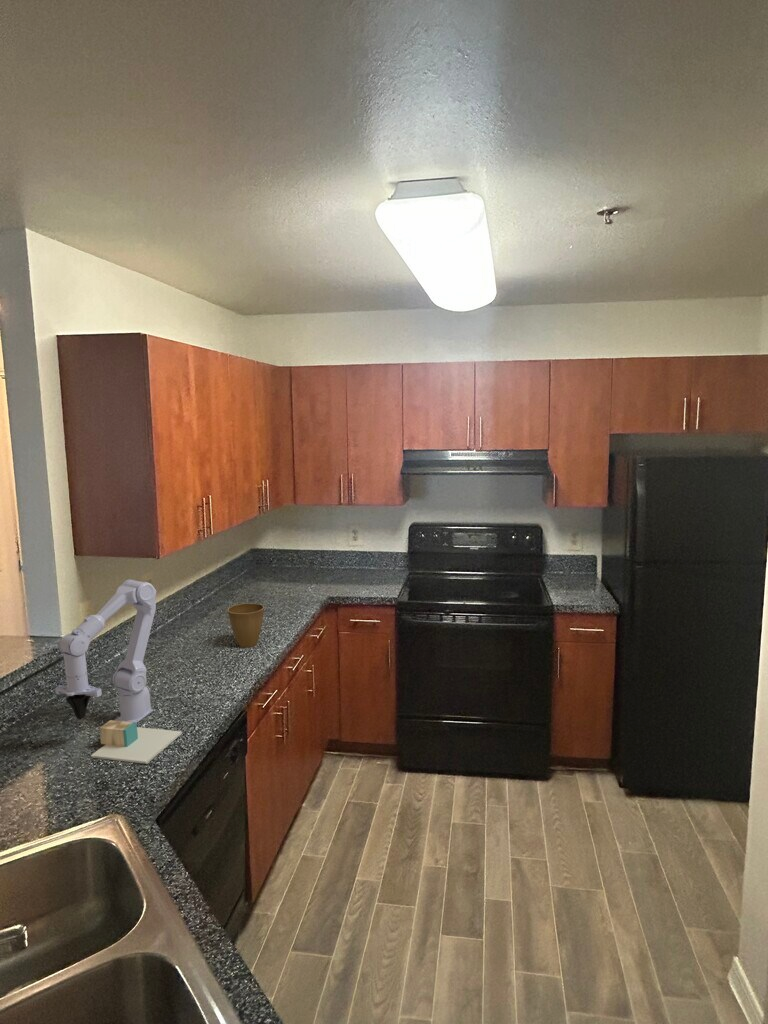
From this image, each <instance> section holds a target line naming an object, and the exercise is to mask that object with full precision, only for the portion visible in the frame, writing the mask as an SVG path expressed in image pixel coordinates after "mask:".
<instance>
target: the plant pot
mask: <svg viewBox="0 0 768 1024" xmlns="http://www.w3.org/2000/svg"><path fill="white" fill-rule="evenodd" d="M264 611H265V606H264V605H263V604H260V603H253V602H252V603H250V602H248V603H237V604H234V605H231V606H230V607H228V608H227V614H228V619H229V623H230V626H231V629H232V631H233V635H234V637H235V640H236V642H237V644H238V646H239V647H240V648H252V647H255V646H256V645H258V641H259V639H260V635H261V631H262V625H263V620H264V613H265V612H264Z"/></svg>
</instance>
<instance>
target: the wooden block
mask: <svg viewBox="0 0 768 1024" xmlns="http://www.w3.org/2000/svg"><path fill="white" fill-rule="evenodd" d="M137 724H138V722H137V723H135V722H124V721H115V720H114V719H113V720H112V719H110V720H109V721H107V722H106V723H104V724H102V725H101V726H100V727H98V728H99V730H98V731H99V737H100V739H99V740H100V744H101V745H116V746H125V747H128V746H129V745H130V744H132V743H133V742H134V741H136V740H137V739H138V733H137V727H138V725H137Z"/></svg>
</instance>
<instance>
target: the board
mask: <svg viewBox="0 0 768 1024" xmlns="http://www.w3.org/2000/svg"><path fill="white" fill-rule="evenodd" d="M137 733H138V739H137V740H136V741H134V742H133V743H132V744H130V745H129V746H128V747H125V746H116V745H106V744H103V746H101V747H100V748H99V749H97V750H96V751H95V752H94V753H92V754H90V758H93V759H101V760H108V761H109V760H110V761H111V760H112V761H117V762H119V761H120V762H127V763H135V764H136V763H138V764H145V765H147V764H148V763H150V762H151V760H153V759H154V758H156V756H157V755H159V753H161V752H163V750H164V749H166V748H167V747H168V746H169V745H170V744H171V743H172V742H174V741H175V740H176V739H177V738H179V737H180V736H181V735H182V734H183V731H182V730H181V731H180V730H172V729H171V730H170V729H159V728H152V727H151V728H149V727H139V726H137Z"/></svg>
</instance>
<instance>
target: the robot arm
mask: <svg viewBox="0 0 768 1024" xmlns="http://www.w3.org/2000/svg"><path fill="white" fill-rule="evenodd" d="M153 585H154V584H152V583H150V582H148V581H146V582H144V581H138V580H134V579H127V580H125V581H123V583H122V584H121V585H119V587H117V589H116V592H115V594H113V596H111V598H110V599H109V600H107V602H106V603H105V604H104V605H103V607H102V608H101V609H100V610H99V611H98V612H97V613H95V614H90V615H88V616H85V617H84V618H83V621H82V622H80V624H79V625H78V626H77V627H76V628H74V629H73V630H72V631H71V633H69V634H66V635H64V636H63V637H62V638H61V640H60V642H59V644H58V645H57V647H58V650H59V651H60V652H61V653H62V656H63V661H64V669H65V670H64V671H65V680H66V681H65V682H66V684H65V685H58V686H56V687H55V688H54V690H55V694H56V695H60V694H64V695H66V696H67V697H66V698H65V701H66V702H67V703H68V705H70V707H71V708H72V710H73V712H74V715H75V718H76V719H77V720H82V719H83V718H85V717H86V712H87V707H88V705H89V701H90V700H91V697H94V698H98V697H100V696H102V695H103V694H102V688H99V687H95V686H92V685H89V680H88V679H89V678H88V677H89V676H88V669H87V660H86V659H87V658H86V652H87V651H88V649H89V645H90V644H91V641H93V640H94V639H95V638H96V637H97V636H98V634H100V633H101V632H102V631H103V630H104V628H105V625H106V624H105V623H106V622H107V621H108V620H109V619H110V618H111V617H112V616H114V615H115V614H116V613H117V612H118V611H119V610H121V609H122V608H123V607H124V606H126V605H132V606H133V607H134V608H135V610H136V613H135V619H134V622H133V626H132V630H131V634H130V636H129V637H130V638H129V643H128V647H127V650H126V655H125V658H124V660H122V661H121V662H120V663H119V664H118V667H117V669H116V671H115V672H114V674H113V676H112V683H113V685H114V686H115V687H116V688H117V692H118V701H119V709H120V716H118V717H117V718H115V720H114V721H124V722H135V723H137V724H138V723H139V722H140V721H142V719H145V717H147V716H148V715H150V714H151V713H152V712H154V708H152V705H151V696H150V691H149V688H148V687H147V686H146V685H147V670H148V669H147V667H146V665H145V664H144V659H145V654H146V650H147V646H148V643H149V638H150V634H151V629H152V626H153V622H154V618H155V613H156V610H157V605H156V604H157V603H156V595H157V590H156V588H155V587H154V586H153Z"/></svg>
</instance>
